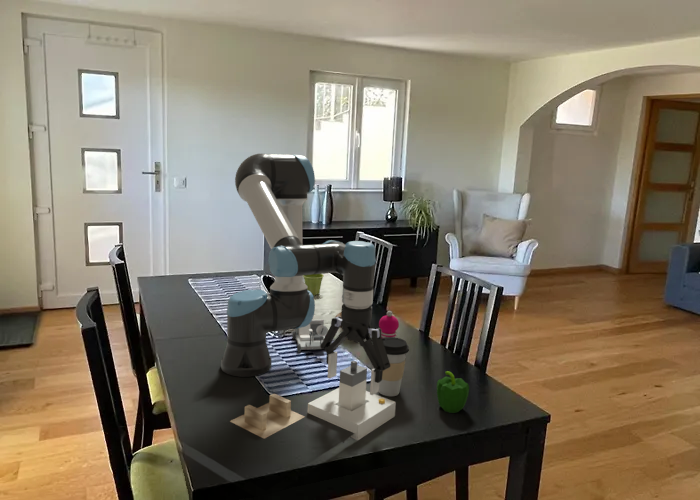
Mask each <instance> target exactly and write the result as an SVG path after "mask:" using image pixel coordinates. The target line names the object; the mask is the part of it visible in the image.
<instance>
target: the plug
mask: <svg viewBox="0 0 700 500" xmlns="http://www.w3.org/2000/svg"><path fill="white" fill-rule="evenodd" d="M367 373H368V368H367V367H364V366H361V365H358V361H356V360H351V361H350V365H349V366H348V367H345V368H343V369H341V370H339V384H338V385H339V387H338V388H339V406H340V407H342V408H345V409H347V410H350V411H353V410H355V409H357V408H359V407H360V406H362V405H364V404H365V397H366V391H367V377H368V376H367V375H368V374H367Z"/></svg>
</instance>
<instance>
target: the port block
mask: <svg viewBox="0 0 700 500" xmlns="http://www.w3.org/2000/svg"><path fill="white" fill-rule="evenodd" d="M396 405H397V404H396V401H394V400H392V399H388V398H387V397H383V396H381V395H378V394H377V393H376V394H374V395H370V391H367V390H366V397H365V404H364V405H362V406H360V407H359V408H357V409H355V410H353V411H350V410H347V409H345V408H342V407H340V406H339V387H337V388H336V389H333V390H332V391H330V392H328V393H326V394H324V395H322V396H320V397H317V398H316V399H314V400H312V401H309V402H308V403H307V414H310V415H312V416H314V417H315V418H316V417H317V418H319V419H321V420H323V421H325V422H328V423H330V424H332V425H335V426H337V427H339V428H342V429H344V430H345V431H349V432H351V433H352V434H351V435H350V436H349V438H351V439H353V440H355V441H359V440H362V438H364V437H366V436H367V435H368V434H370V433H372V432H373V431H375V430H376V429H377V428H379V427H380V426H382V425H384V424H385V423H387V422H388V421H390V420H391V419H393V418H395V416H396Z"/></svg>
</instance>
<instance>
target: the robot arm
mask: <svg viewBox="0 0 700 500" xmlns="http://www.w3.org/2000/svg"><path fill="white" fill-rule="evenodd" d="M310 161H311V160H309V158H308V157H306V156H304V155H303V154H302V155H301V154H295V153H294V154H293V153H290V154H284V153H281V154H279V153H256V154H253V155H250V156H248V157H247V158H245V159H244V160H243V161H242V162H241V163H240V165H239V166H238V168H237V170H236V174H235V178H234V183H235V188H236V191H237V193H238V195H239V197H240V199H242V201H244V202H246V203H247V205H248V207H249V209H250V210H251V213H252V214H253V217H254V218H255V221H256V223H257V224H258V226H259V227H260V230H261V233H262V234H263V236H264V238H265V240H266V242H267V243H268V245H269V248H270V251H269V253H268V259H267V260H268V261H267V263H268V265H269V271H270V273H271V274H272V275H273V276H274V282H273V283H272V284H271V285H270V287H269V289H270V290H269V293H267V292H266V290H264V289H257V288H256V289H245V290H241V291H238V292H236V293H234V294H232V295H231V296H229V298H228V300H227V309H226V317H227V318H226V322H227V323H226V328H227V329H226V334H227V335H226V337H227V338H226V339H227V343H226V347H225V349H224V353H223V356H222V357H221V361H220V363H221V364H220V365H221V367H220V368H221V369H220V370H222V372H223V373H225V374H227V375H230V376H233V377H242V378H244V377H245V378H249V377H256V376H261V375H263V374H265V373H268V372H269V371H270V370H271V369H272V357H271V355H270V351H269V347H268V345H267V333H272V332H273V333H274V332H280V331H288V330H295V329H298V328H301V327H305V326H307V325H309V323H310V322H311V321H312V320H314V316H315V309H316V302H315V300H314V297H315V296H314V295H313V294H312V293H311V292H310V291H308V290H307V285H306V284H305V281H303V279H304V277H303V275H313V274H323V275H324V274H338V275H341V276H343V277H342V296H341V302H342V303H343V304H342V305H341V311H342V312H341V311H340V312H341V317H340V316H338V317H333V318H331V322H330V327H329V328H328V332H327V334H326V336H325V338H324V340H323V342H322V344H321V346H320V347H321V349H320V350H324V351H325V353H326V359H325V361H326V362H325V363H326V365H327V377H326V378H327V379H329V380H330V379H333V378H334V377H335V376H337V369H338V367H337V366H338V351H336V350H337V349H338V348H339V346H340V345H342V344H343V342H344V341H345V340H348V341H353V342H354V343H357V344H358V343H359V345H360V347H362V348H363V349H364V350H363V351H364V352H365V354H366V355H367V357H368V359H369V361H370V363H371V365H372V367H373V368H372V369H371V371H370V372H371V374H370V388H369V392H370V395H374V394H376V395H377V394H378V393H379V382H381V381H382V374H383V371H384V370H386V369H388V368H389V367H390V362H389V359H388V356H387V353H386V350H385V347H384V344H383V341H382V338H381V329H380V327H378V328H376V329H375V328H371V322H372V315H373V314H372V313H373V306H372V305H373V302H374V301H373V300H374V285H375V284H374V283H375V270H376V262H377V260H376V247H375V245H374V244H373V243H372V242H369V241H367V242H366V241H363V240H353V241H348V242H346V243H343V242H342V241H339V240H332V239H331V240H330V239H329V240H326V241H325V242H323V243H319V244H303V204H304V203H305V202H306V201H307V200H308V194H309V193H312V192H313V190H314V189H315V187H314V186H315V182H316V181H315V180H316V178H315V177H316V176H315V171H314V167H313V165H312V163H311V162H310ZM341 318H342V319H341ZM340 327H341V329H342V331H340V332H341V333H339V334H338V336H337V337H336V338H335V336H336V334H337V333H338V332H339V329H340ZM331 342H332V344H331ZM330 344H331V345H330Z"/></svg>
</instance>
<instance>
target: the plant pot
mask: <svg viewBox="0 0 700 500" xmlns="http://www.w3.org/2000/svg"><path fill="white" fill-rule="evenodd" d="M303 279H304V283H305V284H306V285H307V290H308V291H310V292H311V293H312V294H313V296H316V295H319V294H320V291H321V286H322V282H323V279H324V274H313V275H303Z"/></svg>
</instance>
